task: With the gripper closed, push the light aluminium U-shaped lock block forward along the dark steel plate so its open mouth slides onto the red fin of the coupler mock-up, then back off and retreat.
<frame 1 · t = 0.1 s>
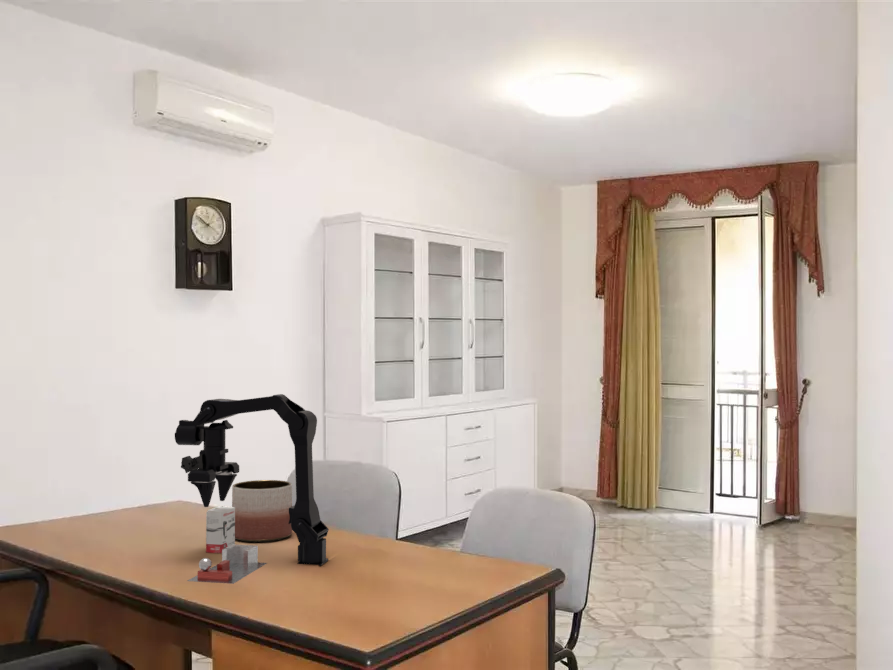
hand: (214, 503, 228), 14 cm above the table, fingers open, 9 cm apart
planter: (262, 537, 254), on the table
coupler: (223, 576, 209), on the table
lock block: (240, 565, 219), resting on coupler
ink box: (220, 551, 236), on the table
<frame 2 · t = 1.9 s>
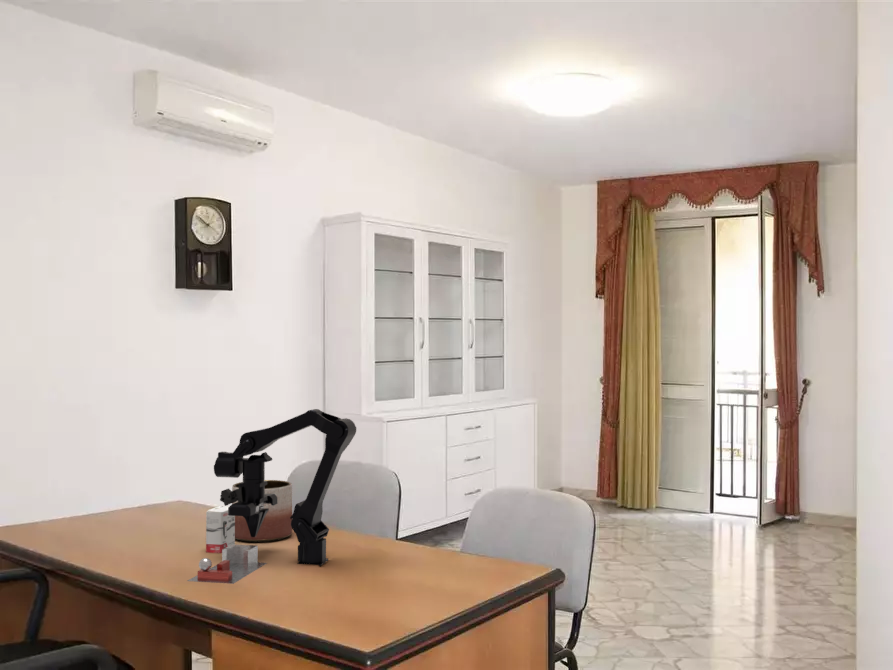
hand: (253, 536, 227), 6 cm above the table, fingers closed
nothing on the table moved.
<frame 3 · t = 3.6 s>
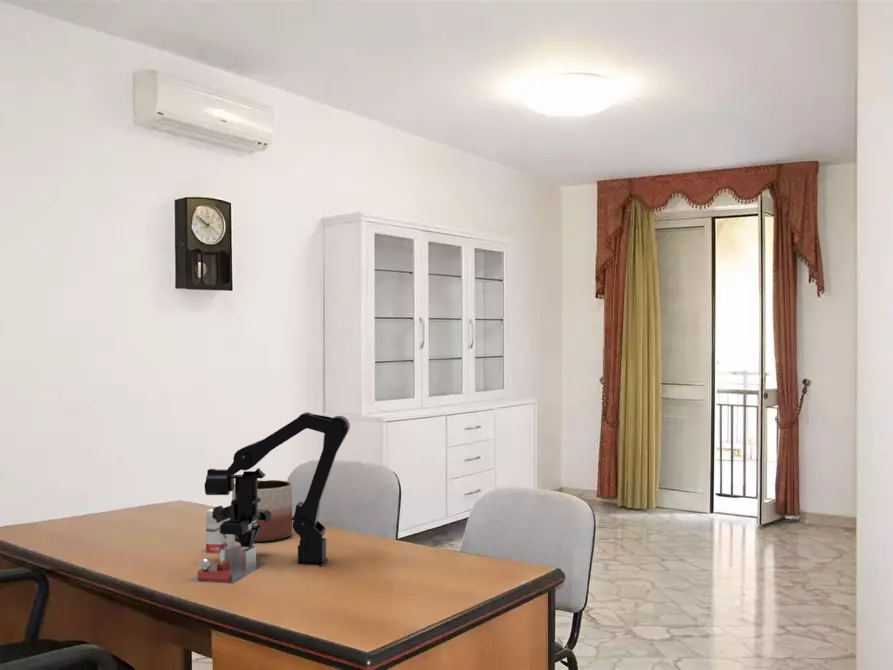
hand: (246, 554, 222), 2 cm above the table, fingers closed
lock block: (238, 565, 218), point 1 cm above the table, touching coupler, gripper
everything else where it was.
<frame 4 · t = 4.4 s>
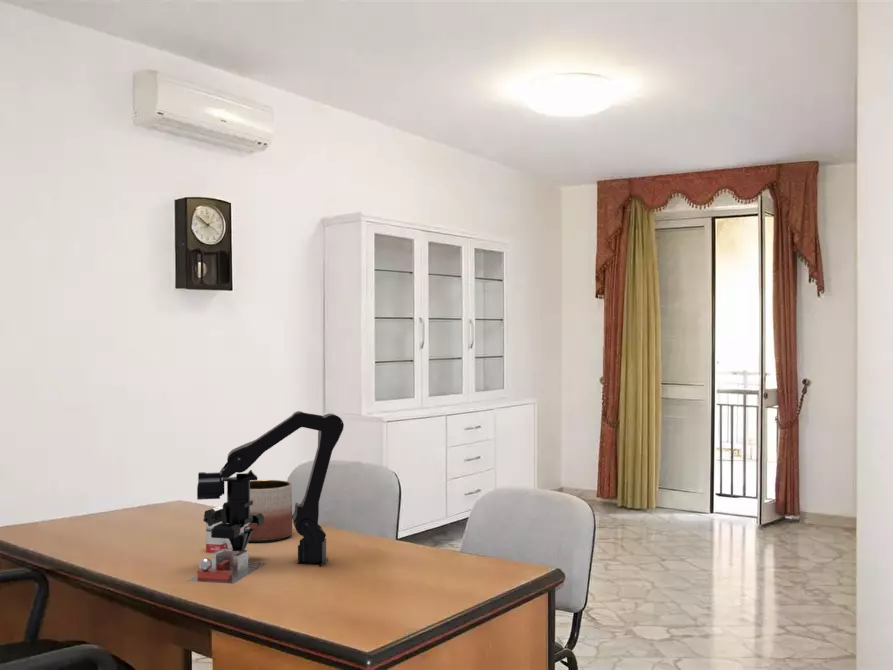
hand: (238, 558, 218), 2 cm above the table, fingers closed
lock block: (230, 570, 213), point 1 cm above the table, touching gripper
everything else where it was.
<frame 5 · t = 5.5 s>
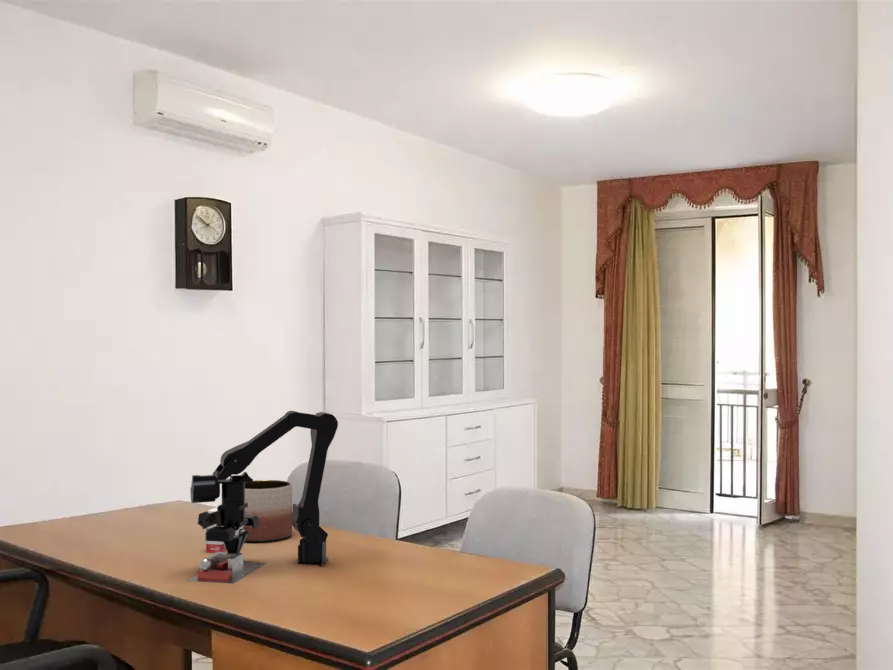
hand: (233, 561, 215), 2 cm above the table, fingers closed
lock block: (224, 573, 210), resting on coupler, touching gripper
everything else where it was.
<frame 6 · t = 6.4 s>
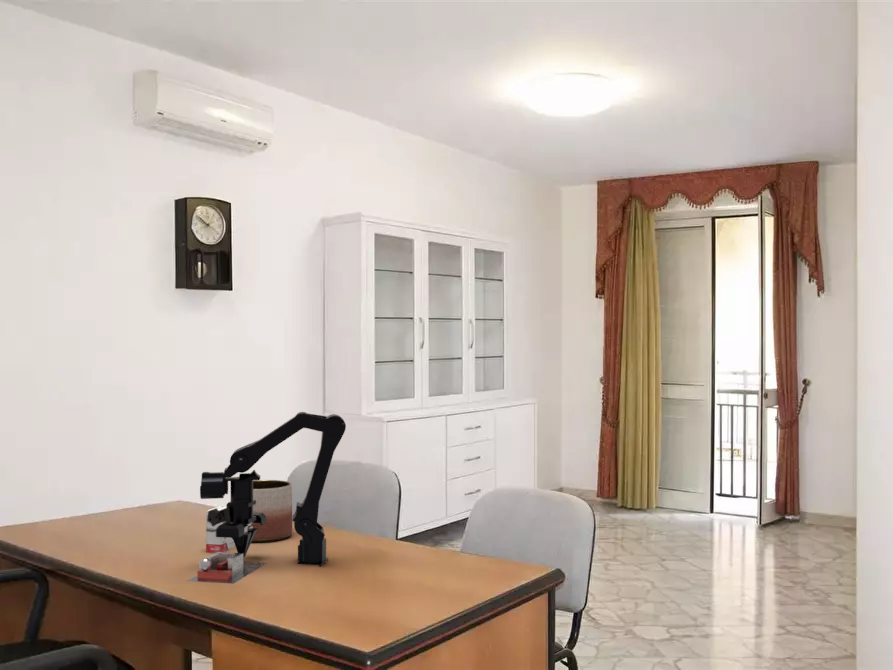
hand: (241, 558, 219), 2 cm above the table, fingers closed
lock block: (224, 573, 210), resting on coupler
everything else where it was.
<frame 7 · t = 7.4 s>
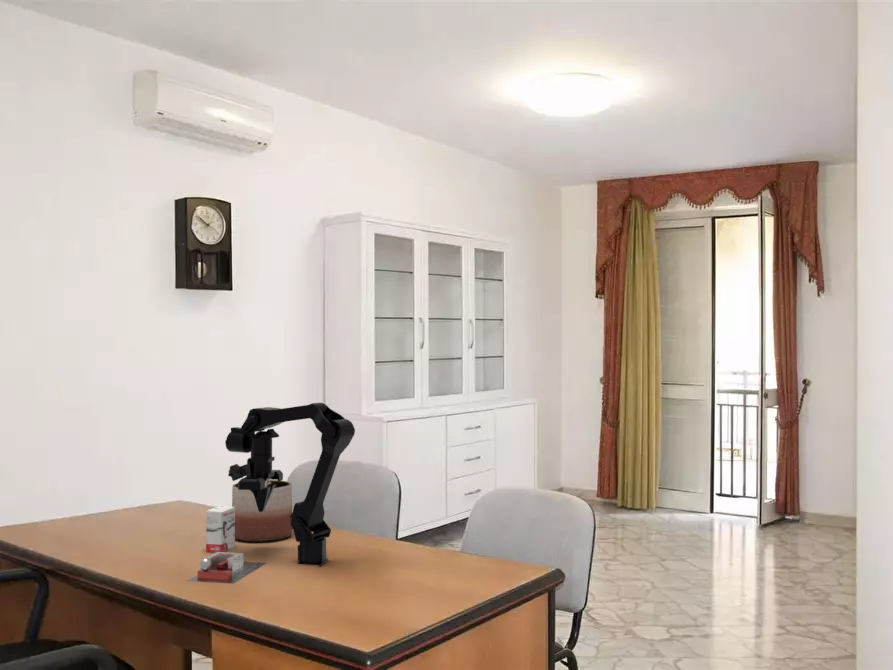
hand: (261, 511, 231), 12 cm above the table, fingers closed
nothing on the table moved.
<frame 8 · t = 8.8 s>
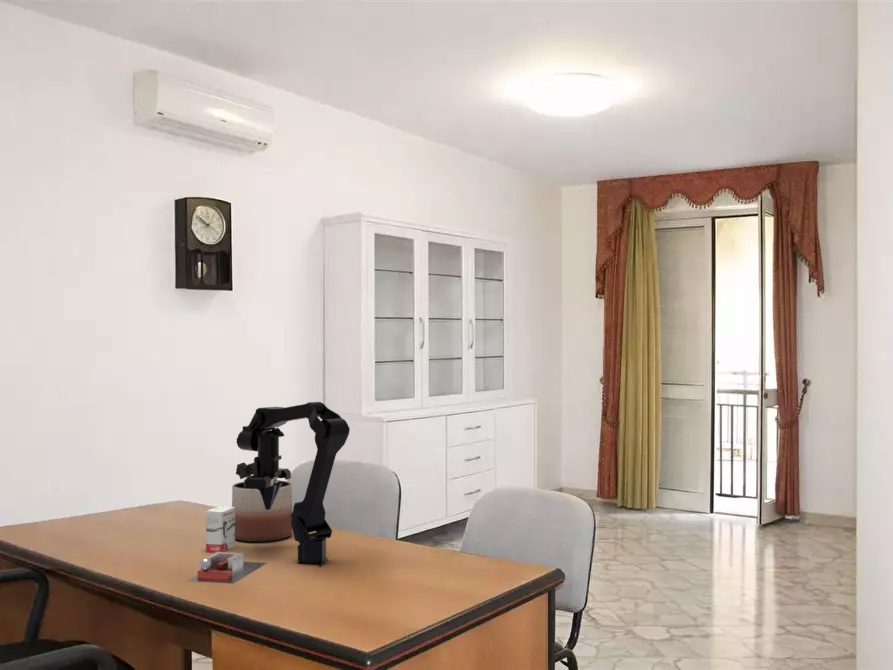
hand: (268, 509, 234), 12 cm above the table, fingers closed
nothing on the table moved.
at the end: lock block 0.1 cm off-centre on the coupler, point 0.5 cm above the coupler's base; lock block tilted 0° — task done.
